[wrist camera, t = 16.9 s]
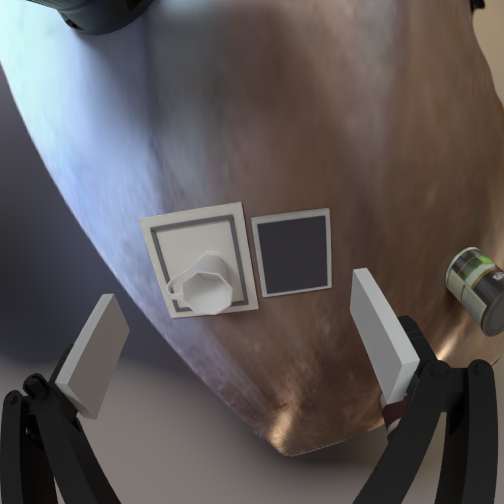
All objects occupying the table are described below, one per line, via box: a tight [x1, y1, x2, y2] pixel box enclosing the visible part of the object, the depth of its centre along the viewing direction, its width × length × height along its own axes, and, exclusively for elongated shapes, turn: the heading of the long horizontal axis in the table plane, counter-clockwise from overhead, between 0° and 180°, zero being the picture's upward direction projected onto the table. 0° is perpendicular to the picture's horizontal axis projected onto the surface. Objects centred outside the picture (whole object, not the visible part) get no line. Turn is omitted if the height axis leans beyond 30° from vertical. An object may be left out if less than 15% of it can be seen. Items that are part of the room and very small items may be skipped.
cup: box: [166, 251, 233, 315], centre depth 41 cm, size 7×10×8 cm
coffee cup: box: [380, 393, 409, 443], centre depth 56 cm, size 10×10×15 cm
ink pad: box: [251, 208, 331, 297], centre depth 44 cm, size 13×11×1 cm
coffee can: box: [445, 247, 504, 337], centre depth 41 cm, size 10×10×14 cm
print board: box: [139, 202, 259, 318], centre depth 45 cm, size 18×15×1 cm
